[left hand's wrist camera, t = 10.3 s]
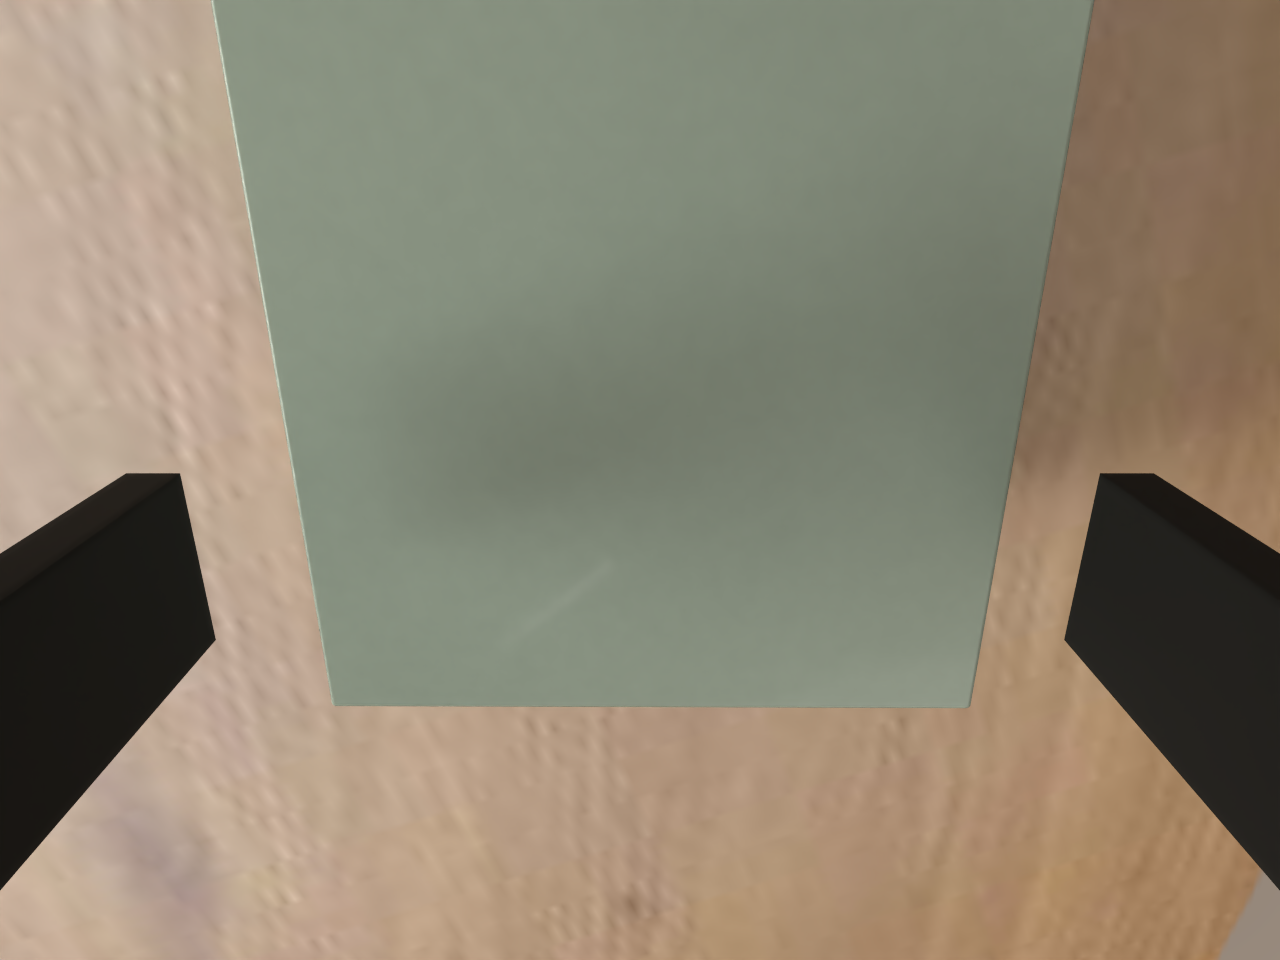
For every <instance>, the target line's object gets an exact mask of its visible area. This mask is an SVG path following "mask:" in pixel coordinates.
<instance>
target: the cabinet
mask: <svg viewBox="0 0 1280 960" xmlns="http://www.w3.org/2000/svg"><path fill="white" fill-rule="evenodd" d="M211 4H212V9H213V15H214V21H215V27H216V33H217V38H218V44H219V50H220V56H221V61H222V67H223V73H224V79H225V85H226V90H227V96H228V102H229V108H230V114H231V119H232V125H233V131H234V137H235V143H236V148H237V154H238V160H239V166H240V172H241V177H242V183H243V189H244V195H245V201H246V206H247V212H248V218H249V224H250V230H251V235H252V241H253V247H254V253H255V259H256V264H257V270H258V276H259V282H260V288H261V293H262V299H263V305H264V311H265V317H266V322H267V328H268V334H269V340H270V345H271V351H272V357H273V363H274V369H275V374H276V380H277V386H278V392H279V398H280V403H281V409H282V415H283V421H284V427H285V432H286V438H287V444H288V450H289V456H290V461H291V467H292V473H293V479H294V485H295V490H296V496H297V502H298V508H299V514H300V519H301V525H302V531H303V537H304V543H305V548H306V554H307V560H308V566H309V572H310V577H311V583H312V589H313V595H314V601H315V606H316V612H317V618H318V624H319V630H320V635H321V641H322V647H323V653H324V658H325V664H326V670H327V676H328V682H329V687H330V693H331V699H332V704H333V705H335V706H502V707H797V708H968V707H970V704H971V698H972V692H973V687H974V681H975V675H976V670H977V664H978V658H979V653H980V647H981V641H982V636H983V630H984V624H985V619H986V613H987V607H988V602H989V596H990V590H991V584H992V579H993V573H994V567H995V562H996V556H997V550H998V545H999V539H1000V533H1001V528H1002V522H1003V516H1004V511H1005V505H1006V499H1007V494H1008V488H1009V482H1010V476H1011V471H1012V465H1013V459H1014V454H1015V448H1016V442H1017V437H1018V431H1019V425H1020V420H1021V414H1022V408H1023V403H1024V397H1025V391H1026V386H1027V380H1028V374H1029V369H1030V363H1031V357H1032V351H1033V346H1034V340H1035V334H1036V329H1037V323H1038V317H1039V312H1040V306H1041V300H1042V295H1043V289H1044V283H1045V278H1046V272H1047V266H1048V261H1049V255H1050V249H1051V243H1052V238H1053V232H1054V226H1055V221H1056V215H1057V209H1058V204H1059V198H1060V192H1061V187H1062V181H1063V175H1064V170H1065V164H1066V158H1067V153H1068V147H1069V141H1070V135H1071V130H1072V124H1073V118H1074V113H1075V107H1076V101H1077V96H1078V90H1079V84H1080V79H1081V73H1082V67H1083V62H1084V56H1085V50H1086V45H1087V39H1088V33H1089V28H1090V22H1091V16H1092V10H1093V5H1094V0H211Z"/></svg>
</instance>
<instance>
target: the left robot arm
mask: <svg viewBox="0 0 1280 960" xmlns="http://www.w3.org/2000/svg"><path fill="white" fill-rule="evenodd" d="M215 640H216V639H215V634H214V630H213V625H212V620H211V616H210V611H209V606H208V602H207V597H206V592H205V588H204V583H203V578H202V574H201V569H200V565H199V560H198V555H197V551H196V546H195V541H194V537H193V532H192V527H191V523H190V518H189V513H188V509H187V504H186V499H185V495H184V490H183V486H182V481H181V476H180V473H126V474H125V475H123V476H121V477H120V478H118V479H117V480H115V481H114V482H112V483H110V484H109V485H107V486H106V487H104V488H103V489H101V490H99V491H98V492H96V493H95V494H93V495H92V496H90V497H88V498H87V499H85V500H84V501H82V502H81V503H79V504H77V505H76V506H74V507H73V508H71V509H70V510H68V511H67V512H65V513H63V514H62V515H60V516H59V517H57V518H56V519H54V520H52V521H51V522H49V523H48V524H46V525H45V526H43V527H41V528H40V529H38V530H37V531H35V532H34V533H32V534H30V535H29V536H27V537H26V538H24V539H23V540H21V541H19V542H18V543H16V544H15V545H13V546H12V547H10V548H8V549H7V550H5V551H4V552H2V553H1V554H0V890H1V889H2V888H3V887H4V885H5V884H6V883H7V882H8V881H9V880H10V878H11V877H12V876H13V875H14V874H15V873H16V871H17V870H18V869H19V868H20V867H21V866H22V864H23V863H24V862H25V861H26V860H27V859H28V857H29V856H30V855H31V854H32V853H33V852H34V850H35V849H36V848H37V847H38V846H39V845H40V843H41V842H42V841H43V840H44V839H45V838H46V837H47V835H48V834H49V833H50V832H51V831H52V830H53V828H54V827H55V826H56V825H57V824H58V823H59V821H60V820H61V819H62V818H63V817H64V816H65V814H66V813H67V812H68V811H69V810H70V809H71V807H72V806H73V805H74V804H75V803H76V802H77V800H78V799H79V798H80V797H81V796H82V795H83V793H84V792H85V791H86V790H87V789H88V788H89V787H90V785H91V784H92V783H93V782H94V781H95V780H96V778H97V777H98V776H99V775H100V774H101V773H102V771H103V770H104V769H105V768H106V767H107V766H108V764H109V763H110V762H111V761H112V760H113V759H114V757H115V756H116V755H117V754H118V753H119V752H120V750H121V749H122V748H123V747H124V746H125V745H126V743H127V742H128V741H129V740H130V739H131V738H132V736H133V735H134V734H135V733H136V732H137V731H138V730H139V728H140V727H141V726H142V725H143V724H144V723H145V721H146V720H147V719H148V718H149V717H150V716H151V714H152V713H153V712H154V711H155V710H156V709H157V707H158V706H159V705H160V704H161V703H162V702H163V700H164V699H165V698H166V697H167V696H168V695H169V693H170V692H171V691H172V690H173V689H174V688H175V686H176V685H177V684H178V683H179V682H180V681H181V680H182V678H183V677H184V676H185V675H186V674H187V673H188V671H189V670H190V669H191V668H192V667H193V666H194V664H195V663H196V662H197V661H198V660H199V659H200V657H201V656H202V655H203V654H204V653H205V652H206V650H207V649H208V648H209V647H210V646H211V645H212V643H213V642H214V641H215ZM1064 640H1065V641H1066V642H1067V643H1068V645H1069V646H1070V647H1071V648H1072V649H1073V650H1074V652H1075V653H1076V654H1077V655H1078V656H1079V657H1080V659H1081V660H1082V661H1083V662H1084V663H1085V664H1086V666H1087V667H1088V668H1089V669H1090V670H1091V671H1092V673H1093V674H1094V675H1095V676H1096V677H1097V678H1098V680H1099V681H1100V682H1101V683H1102V684H1103V685H1104V686H1105V688H1106V689H1107V690H1108V691H1109V692H1110V693H1111V695H1112V696H1113V697H1114V698H1115V699H1116V700H1117V702H1118V703H1119V704H1120V705H1121V706H1122V707H1123V709H1124V710H1125V711H1126V712H1127V713H1128V714H1129V716H1130V717H1131V718H1132V719H1133V720H1134V721H1135V723H1136V724H1137V725H1138V726H1139V727H1140V728H1141V730H1142V731H1143V732H1144V733H1145V734H1146V735H1147V736H1148V738H1149V739H1150V740H1151V741H1152V742H1153V743H1154V745H1155V746H1156V747H1157V748H1158V749H1159V750H1160V752H1161V753H1162V754H1163V755H1164V756H1165V757H1166V759H1167V760H1168V761H1169V762H1170V763H1171V764H1172V766H1173V767H1174V768H1175V769H1176V770H1177V771H1178V773H1179V774H1180V775H1181V776H1182V777H1183V778H1184V780H1185V781H1186V782H1187V783H1188V784H1189V785H1190V787H1191V788H1192V789H1193V790H1194V791H1195V792H1196V793H1197V795H1198V796H1199V797H1200V798H1201V799H1202V800H1203V802H1204V803H1205V804H1206V805H1207V806H1208V807H1209V809H1210V810H1211V811H1212V812H1213V813H1214V814H1215V816H1216V817H1217V818H1218V819H1219V820H1220V821H1221V823H1222V824H1223V825H1224V826H1225V827H1226V828H1227V830H1228V831H1229V832H1230V833H1231V834H1232V835H1233V837H1234V838H1235V839H1236V840H1237V841H1238V842H1239V843H1240V845H1241V846H1242V847H1243V848H1244V849H1245V850H1246V852H1247V853H1248V854H1249V855H1250V856H1251V857H1252V859H1253V860H1254V861H1255V862H1256V863H1257V864H1258V866H1259V867H1260V868H1261V869H1262V870H1263V871H1264V873H1265V874H1266V875H1267V876H1268V877H1269V878H1270V880H1271V881H1272V882H1273V883H1274V884H1275V885H1276V887H1277V888H1278V889H1279V890H1280V554H1279V553H1278V552H1276V551H1275V550H1273V549H1272V548H1270V547H1268V546H1267V545H1265V544H1264V543H1262V542H1261V541H1259V540H1257V539H1256V538H1254V537H1253V536H1251V535H1250V534H1248V533H1246V532H1245V531H1243V530H1242V529H1240V528H1239V527H1237V526H1235V525H1234V524H1232V523H1231V522H1229V521H1228V520H1226V519H1224V518H1223V517H1221V516H1220V515H1218V514H1217V513H1215V512H1213V511H1212V510H1210V509H1209V508H1207V507H1206V506H1204V505H1203V504H1201V503H1199V502H1198V501H1196V500H1195V499H1193V498H1192V497H1190V496H1188V495H1187V494H1185V493H1184V492H1182V491H1181V490H1179V489H1177V488H1176V487H1174V486H1173V485H1171V484H1170V483H1168V482H1166V481H1165V480H1163V479H1162V478H1160V477H1159V476H1157V475H1155V474H1154V473H1100V476H1099V481H1098V486H1097V490H1096V495H1095V499H1094V504H1093V509H1092V513H1091V518H1090V523H1089V527H1088V532H1087V537H1086V541H1085V546H1084V551H1083V555H1082V560H1081V565H1080V569H1079V574H1078V578H1077V583H1076V588H1075V592H1074V597H1073V602H1072V606H1071V611H1070V616H1069V620H1068V625H1067V630H1066V634H1065V639H1064Z"/></svg>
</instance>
